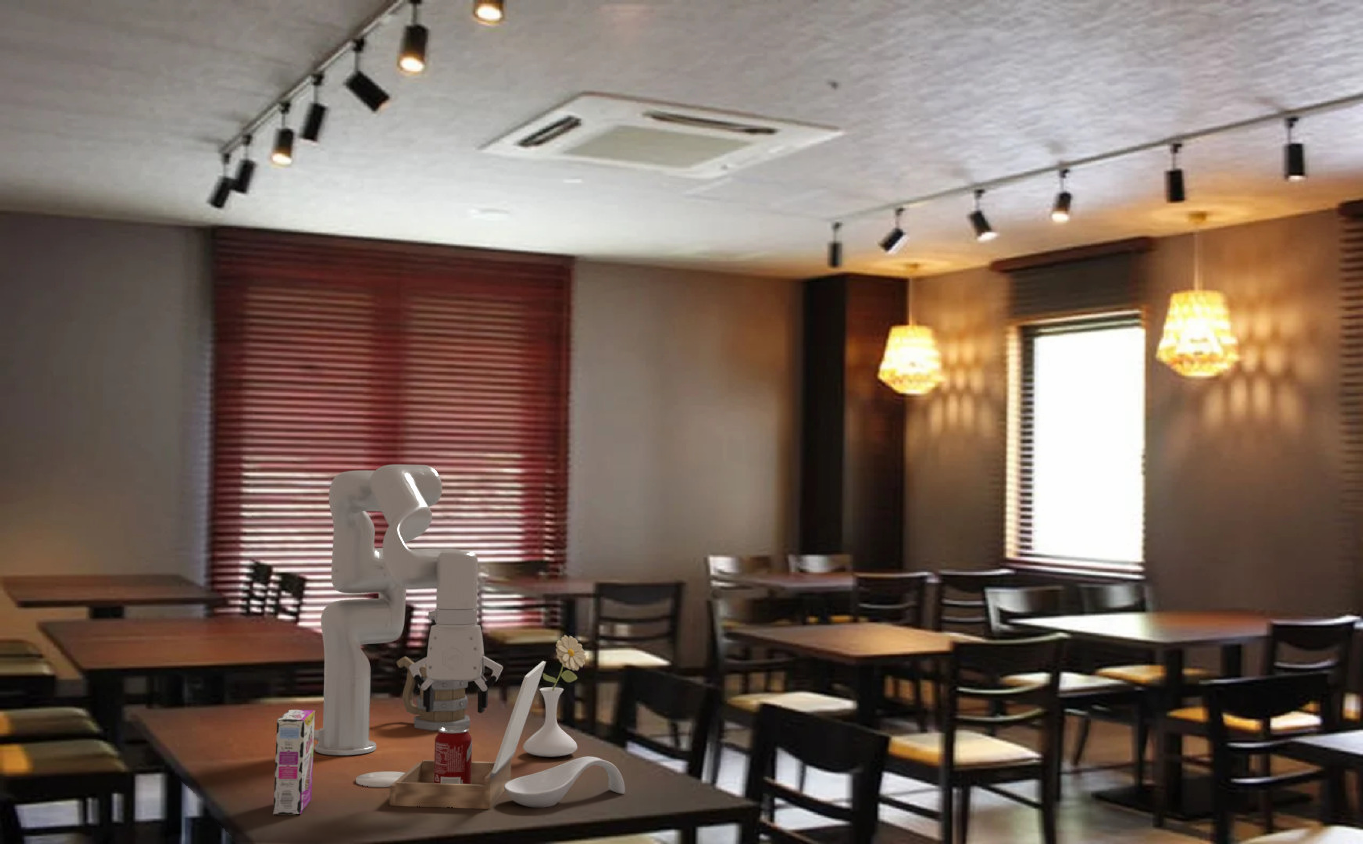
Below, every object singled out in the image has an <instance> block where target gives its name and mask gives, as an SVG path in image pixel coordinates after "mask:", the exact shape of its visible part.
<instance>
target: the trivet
mask: <svg viewBox="0 0 1363 844" xmlns="http://www.w3.org/2000/svg"><path fill="white" fill-rule="evenodd" d="M405 773H406V772H403V771H374V772H369V773H364V774H359V775H358V776H356V777H355V783H356V784H357V785H360V786H362V785H363V787H367V786H368V788H390V785H391V784H393V783H394V782H395V781H396V780H397V779H399V778H400V777H401V776H402V775H404V774H405Z"/></svg>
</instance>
